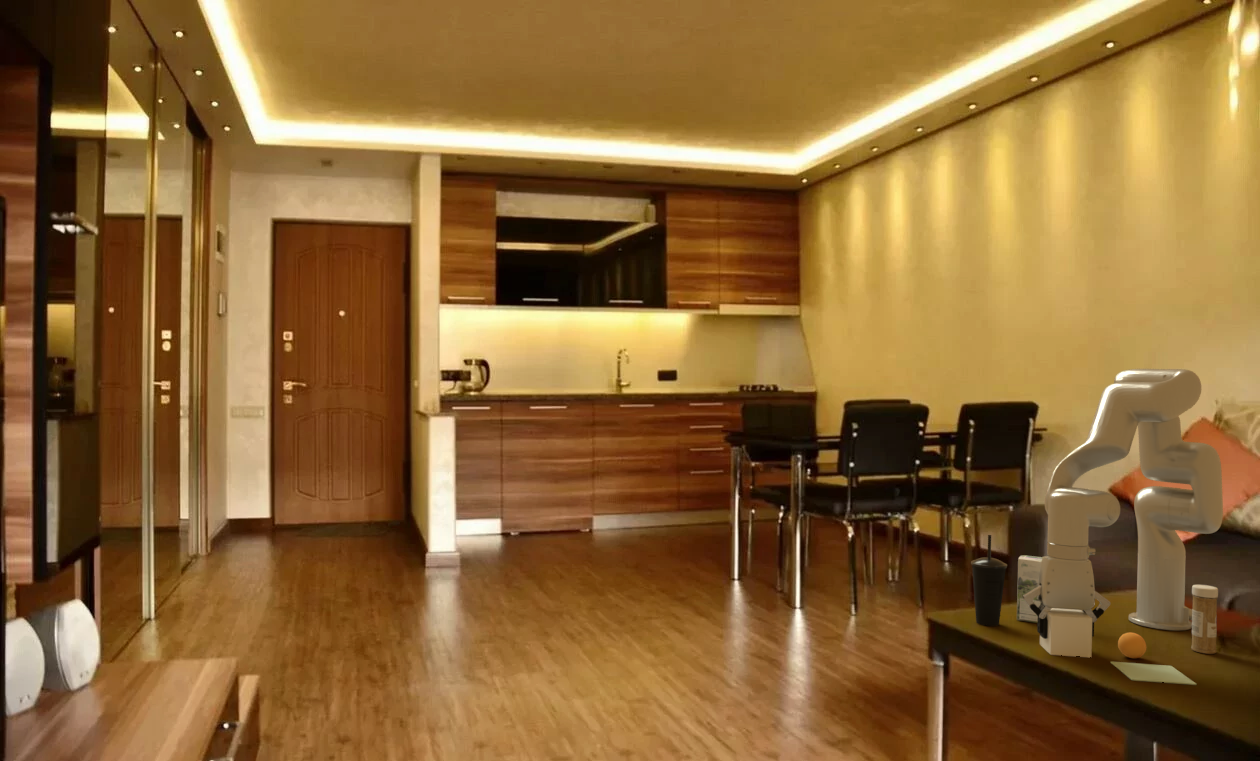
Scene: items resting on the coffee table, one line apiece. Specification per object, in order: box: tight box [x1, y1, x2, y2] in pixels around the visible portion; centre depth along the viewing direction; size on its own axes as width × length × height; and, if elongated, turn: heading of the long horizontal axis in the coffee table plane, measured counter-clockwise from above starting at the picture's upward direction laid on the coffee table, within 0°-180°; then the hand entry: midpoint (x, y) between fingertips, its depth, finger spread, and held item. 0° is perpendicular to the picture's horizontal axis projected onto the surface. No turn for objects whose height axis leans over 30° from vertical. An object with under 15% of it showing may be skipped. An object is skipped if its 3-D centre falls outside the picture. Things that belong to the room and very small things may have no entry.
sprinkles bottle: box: [1190, 584, 1219, 655], centre depth 189 cm, size 5×5×14 cm
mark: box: [1110, 661, 1197, 686], centre depth 173 cm, size 11×11×1 cm
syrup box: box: [1016, 554, 1043, 624], centre depth 211 cm, size 6×6×14 cm
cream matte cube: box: [1039, 608, 1093, 658], centre depth 186 cm, size 8×8×8 cm
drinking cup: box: [970, 534, 1008, 627], centre depth 207 cm, size 8×8×20 cm
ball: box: [1117, 632, 1147, 659], centre depth 182 cm, size 5×5×5 cm
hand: (1065, 637), depth 186 cm, fingers closed on cream matte cube, 7 cm apart
